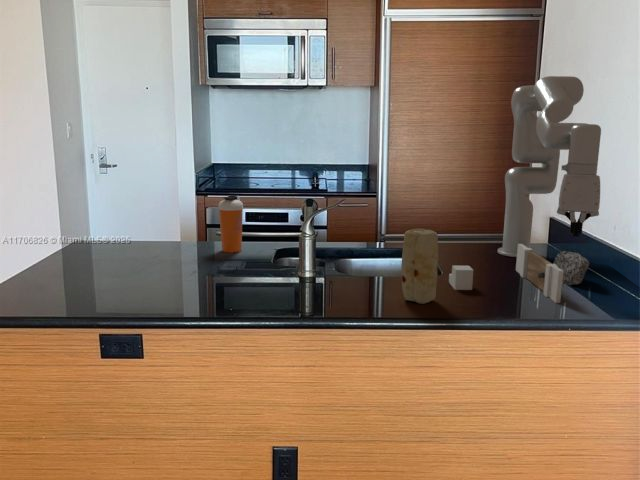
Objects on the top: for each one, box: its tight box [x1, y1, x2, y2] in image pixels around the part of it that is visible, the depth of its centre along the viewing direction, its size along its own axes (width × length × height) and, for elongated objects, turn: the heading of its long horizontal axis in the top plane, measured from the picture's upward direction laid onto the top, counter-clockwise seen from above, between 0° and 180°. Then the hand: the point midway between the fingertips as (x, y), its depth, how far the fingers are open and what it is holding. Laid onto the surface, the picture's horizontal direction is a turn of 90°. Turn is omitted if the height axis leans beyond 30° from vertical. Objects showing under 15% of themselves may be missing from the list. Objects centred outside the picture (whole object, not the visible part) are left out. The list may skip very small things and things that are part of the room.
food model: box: [400, 228, 439, 305], centre depth 158 cm, size 10×7×20 cm
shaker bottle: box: [218, 195, 244, 254], centre depth 213 cm, size 9×9×20 cm
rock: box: [552, 250, 590, 286], centre depth 180 cm, size 16×8×10 cm, turn 173°
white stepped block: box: [448, 265, 474, 291], centre depth 174 cm, size 8×5×6 cm, turn 0°
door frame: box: [515, 244, 563, 304], centre depth 174 cm, size 2×33×9 cm, turn 0°
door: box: [525, 250, 553, 292], centre depth 174 cm, size 3×16×9 cm, turn 0°
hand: (575, 235), depth 163 cm, fingers closed
